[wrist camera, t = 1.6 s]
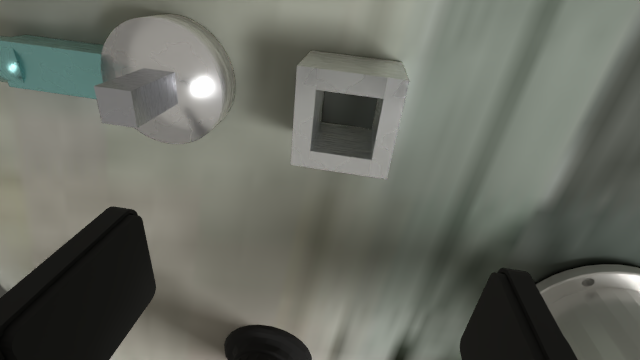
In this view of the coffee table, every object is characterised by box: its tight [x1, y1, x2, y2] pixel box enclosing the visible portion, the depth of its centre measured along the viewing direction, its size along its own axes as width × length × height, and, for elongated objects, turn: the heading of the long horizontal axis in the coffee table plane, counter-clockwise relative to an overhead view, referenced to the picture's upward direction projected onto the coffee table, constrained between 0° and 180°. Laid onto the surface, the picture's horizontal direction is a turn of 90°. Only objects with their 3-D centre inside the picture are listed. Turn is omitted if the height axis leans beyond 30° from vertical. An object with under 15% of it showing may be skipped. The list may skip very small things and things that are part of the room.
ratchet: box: [0, 14, 236, 144], centre depth 21 cm, size 16×8×7 cm, turn 84°
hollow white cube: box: [291, 50, 409, 179], centre depth 21 cm, size 6×6×5 cm
